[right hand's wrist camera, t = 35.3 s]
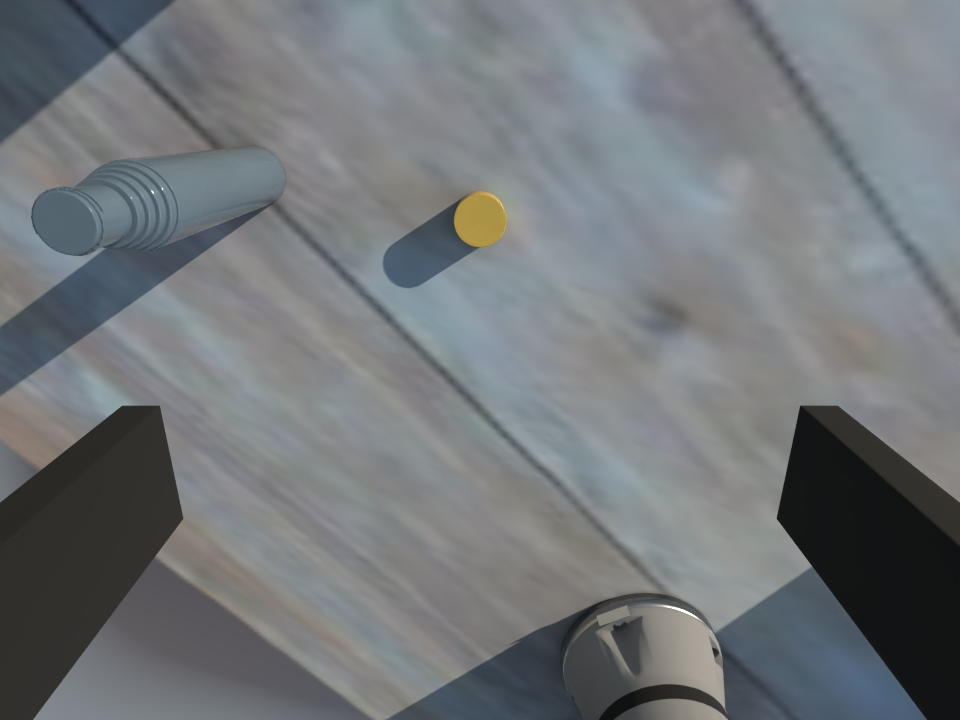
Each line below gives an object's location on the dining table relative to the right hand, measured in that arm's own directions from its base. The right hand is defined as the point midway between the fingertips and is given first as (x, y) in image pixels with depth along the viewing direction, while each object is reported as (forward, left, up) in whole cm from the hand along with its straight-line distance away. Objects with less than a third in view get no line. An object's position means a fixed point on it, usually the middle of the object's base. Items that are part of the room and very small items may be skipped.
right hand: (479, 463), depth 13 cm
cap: (0, 0, -33) cm, 33 cm away
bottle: (-3, +16, -35) cm, 39 cm away
